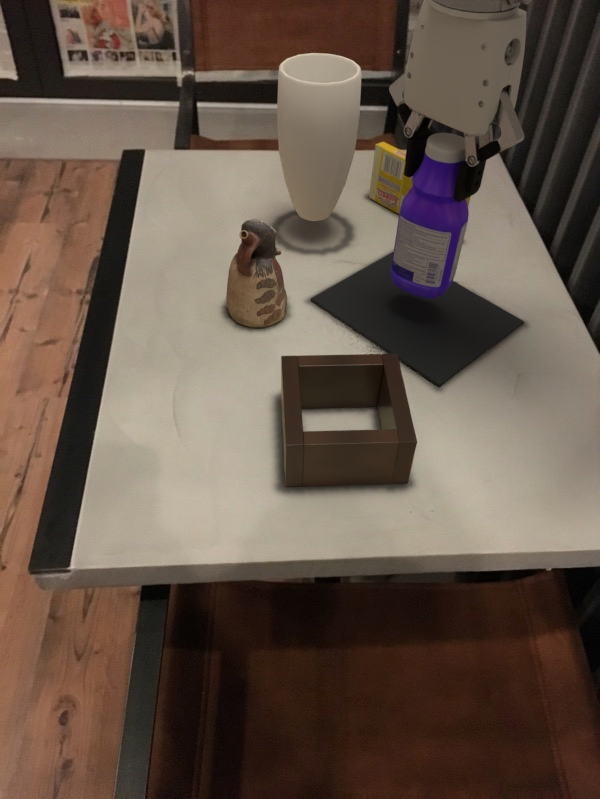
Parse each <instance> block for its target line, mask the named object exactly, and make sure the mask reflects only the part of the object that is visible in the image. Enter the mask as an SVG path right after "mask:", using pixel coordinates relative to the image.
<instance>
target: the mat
mask: <svg viewBox="0 0 600 799" xmlns="http://www.w3.org/2000/svg"><path fill="white" fill-rule="evenodd" d="M393 252H394V251H392V252H390V253H388V254H387V255H385V256H383V257H381V258H380V259H378V260H376V261H374V262H372V263H370V264H369V265H367V266H365V267H364V268H362V269H360V270H358V271H356V272H354V273H353V274H351V275H349V276H348V277H345V278H344V279H342V280H340V281H338V282H337V283H336V284H334V285H332V286H330V287H328V288H327V289H325V290H323V291H321V292H320V293H318V294H316V295H314V296H311V298H310V302H312V303H314V304H315V305H316V306H318V307H319V308H321V309H322V310H324V311H325V312H327V313H328V314H330V315H331V316H332V317H334V318H336V319H337V320H338V321H340V322H342V323H343V324H345V325H346V326H348V327H349V328H350V329H352V330H353V331H355V332H356V333H358V334H359V335H361V336H362V337H364V338H365V339H366V340H368V341H370V342H371V343H373V344H374V345H376V346H377V347H378V348H380V349H381V350H383V351H384V352H386V353H387V354H397V355H398V359H399V362H401V363H402V364H404V365H405V366H407V367H408V368H410V369H411V370H413V371H414V372H415V373H417V374H418V375H420V376H422V377H423V378H425V379H426V380H427V381H429V382H430V383H432V384H433V385H435V386H436V387H439V388H440V387H442V386H443V385H444V384H445V383H446V382H448V381H449V380H450V379H452V378H453V377H454V376H456V375H457V374H459V373H460V372H461V371H463V370H464V369H466V367H468V366H469V365H471V364H472V363H473V362H475V361H476V360H477V359H479V358H480V357H481V356H483V355H484V354H486V352H488V351H489V350H491V349H492V348H493V347H495V346H496V345H498V344H499V343H501V341H502V340H505V339H506V338H507V337H508V336H509V335H511V334H513V332H515V331H516V330H517V329H519V328H520V327H522V326H523V325H524V324H525V320H523V319H521V318H519V317H517V316H516V315H514V314H512V313H510V312H508V311H507V310H505V309H503V308H502V307H500V306H498V305H496V304H494V302H491V301H490V300H488V299H486V298H484V297H482V296H481V295H479V294H478V293H475V291H474V292H473V291H472V290H470V289H468V288H467V287H464V286H463V285H461V284H460V283H458V282H456V281H454V280H453V282H452V284H451V285H450V286H449V288H447V290H446V291H445V292H444V294H442V295H441V296H439V297H437V298H434V299H428V298H423V297H419V296H416V295H413V294H411V293H408V292H406V291H404V290H402V289H400V288H399V287H397V286H396V285H395V284H394V283H393V281H392V277H391V265H392V258H393Z"/></svg>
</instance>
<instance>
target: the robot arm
mask: <svg viewBox="0 0 600 799" xmlns="http://www.w3.org/2000/svg"><path fill="white" fill-rule="evenodd" d="M532 1H533V0H423V2H422V5H421V6H420V10H419V13H418V16H417V19H416V23H415V27H414V30H413V34H412V38H411V42H410V48H409V52H408V57H407V62H406V68H405V71H404V72H403V74H401V75H400V76H399V77H398V78H397V79H396V80H394V82H393V83H391V84H390V85H389V87H388V90H389V94H390V95H391V98H392V100H393V102H394V103H395V105H396V107H397V112H398V115H399V117H400V119H401V121H402V123H403V125H404V127H403V135H404V136H405V137H406V139H407V144H406V151H405V153H406V157H405V162H406V163H405V169H404V175H405V176H406V177H412V176H413V175H414V173H415V172H416V171H417V170H418V169H419V167H420V165H421V164H422V161H423V159H424V155H425V149H426V145H427V140H428V138H429V137H430V136H431V135H433V134H434V131H431V130H430V128H431V126H432V124H433V122H434V121H435V122H437V123H440V124H442V125H445V126H446V127H449V128H450V129H454V130H456V131H459V132H461V133H462V134H463V138H464V141H465V152H466V161H465V162H463V163H461V164H460V166H459V171H458V176H457V181H456V186H455V190H454V195H453V198H454V200H455V201H457V202H461V201H463V200H465V199H466V198H468V197H470V196H471V197H472V196H474V195H475V194H476V193H478V192H479V190H480V188H481V186H482V181H483V176H484V173H485V168H486V165H487V161H488V160H489V159H492V158H493V157H494V156H496V155H498V154H500V153H502V152H504V151H506V150H508V149H510V148H512V147H513V146H515V145H517V144H519V143H522V142H523V141H524V139H525V136H526V135H525V132H524V130H523V127H522V125H521V122H520V120H519V117H518V115H517V112H516V111H515V108H516V105H517V100H518V94H519V91H520V90H519V89H520V84H521V77H522V71H523V65H524V57H525V49H526V36H527V10H526V11H525V10H524V9H522V8H519V7H520V6H521V4H524V5H530V4H531V3H532ZM493 125H497V126H498V128H499V130H500V136H499V137H498V138H496V139H494V135H493V133H494V132H493ZM471 197H470V198H471Z"/></svg>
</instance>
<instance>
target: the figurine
mask: <svg viewBox="0 0 600 799" xmlns="http://www.w3.org/2000/svg"><path fill="white" fill-rule="evenodd" d="M277 232H278V231H276V230H275V228H273V227H272V226H271V225H270V224H267V223H265V221H263V220H262V219H258V218H252V219H249V220H245V221H244V222H243V223H242V224H241V228H240V232H239V238H240V240H241V242H240V244H239V246H238V249H237V252H236V253H235V254H234V256H233V257H232V259H231V262H230V265H229V268H228V276H227V284H226V295H225V298H226V306H227V311H228V314H229V316H230V318H232V319H233V321H234V322H236V323H237V324H240V325H242V326H245V327H248V328H249V327H250V328H267V327H271V326H272V325H275V324H277V323H279V322H280V321H282V320H283V319H284V318H285V316H286V314H287V304H288V295H287V291H286V288H285V281H284V273H283V270H282V267H281V265H280V263H279V261H278V260H277V256H280V255H282V250H281V249H279V248H277V245H276V244H277V241H276V240H277V239H276V238H277V234H278V233H277Z"/></svg>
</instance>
